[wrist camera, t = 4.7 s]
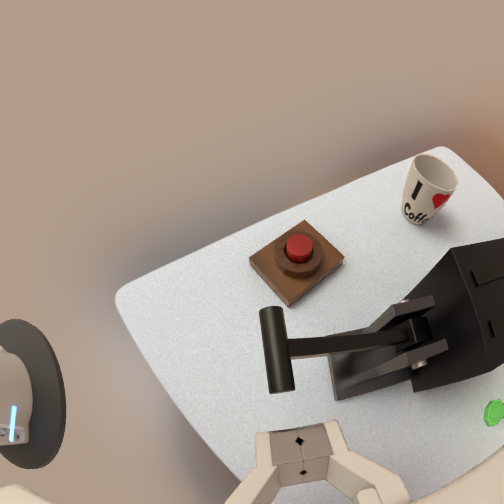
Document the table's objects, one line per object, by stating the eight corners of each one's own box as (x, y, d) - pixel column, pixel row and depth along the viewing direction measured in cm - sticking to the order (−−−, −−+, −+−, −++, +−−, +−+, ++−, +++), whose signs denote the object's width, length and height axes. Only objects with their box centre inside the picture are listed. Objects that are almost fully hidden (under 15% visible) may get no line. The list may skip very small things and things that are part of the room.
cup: (389, 219, 41) (410, 174, 32) (397, 189, 44) (415, 147, 36) (431, 239, 38) (458, 199, 30) (435, 207, 42) (457, 168, 33)
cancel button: (297, 267, 34) (298, 260, 32) (280, 250, 35) (281, 242, 34) (316, 253, 35) (318, 245, 33) (299, 237, 36) (300, 229, 35)
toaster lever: (261, 395, 14) (280, 391, 12) (252, 316, 17) (267, 302, 15) (417, 362, 20) (437, 354, 18) (403, 312, 22) (422, 301, 21)
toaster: (413, 392, 27) (493, 370, 14) (393, 308, 33) (451, 246, 20) (466, 368, 27) (542, 334, 14) (445, 294, 33) (505, 236, 20)
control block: (287, 307, 34) (289, 296, 31) (249, 264, 38) (247, 250, 35) (341, 263, 37) (347, 250, 34) (303, 227, 41) (305, 212, 38)
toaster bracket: (334, 400, 28) (378, 394, 16) (323, 338, 32) (355, 293, 20) (407, 379, 28) (474, 355, 16) (394, 322, 32) (448, 273, 20)
